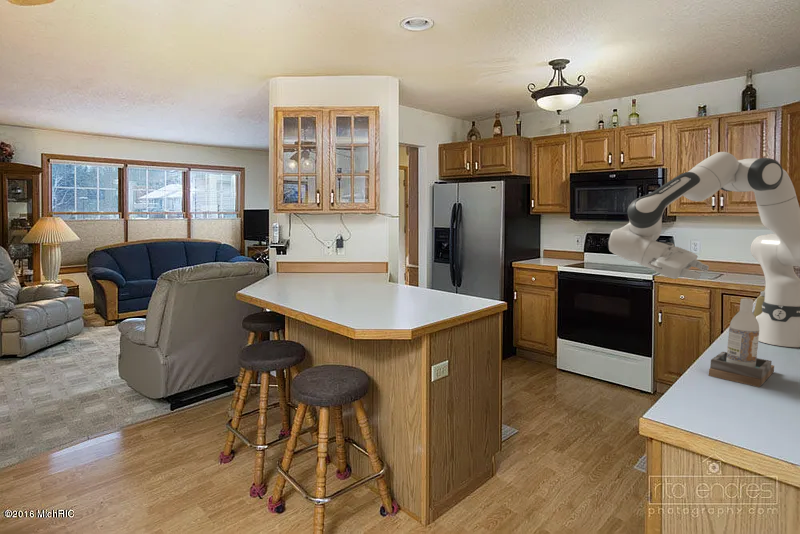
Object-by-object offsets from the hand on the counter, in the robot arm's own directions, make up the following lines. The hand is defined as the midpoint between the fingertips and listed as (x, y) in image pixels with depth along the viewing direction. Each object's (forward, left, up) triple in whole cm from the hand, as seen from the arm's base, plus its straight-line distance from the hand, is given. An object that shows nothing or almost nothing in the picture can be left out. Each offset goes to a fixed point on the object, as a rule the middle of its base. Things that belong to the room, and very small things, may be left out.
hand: (703, 272), depth 147 cm
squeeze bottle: (-74, +4, -28) cm, 79 cm away
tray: (+2, +12, -28) cm, 31 cm away
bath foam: (+4, +12, -26) cm, 29 cm away
